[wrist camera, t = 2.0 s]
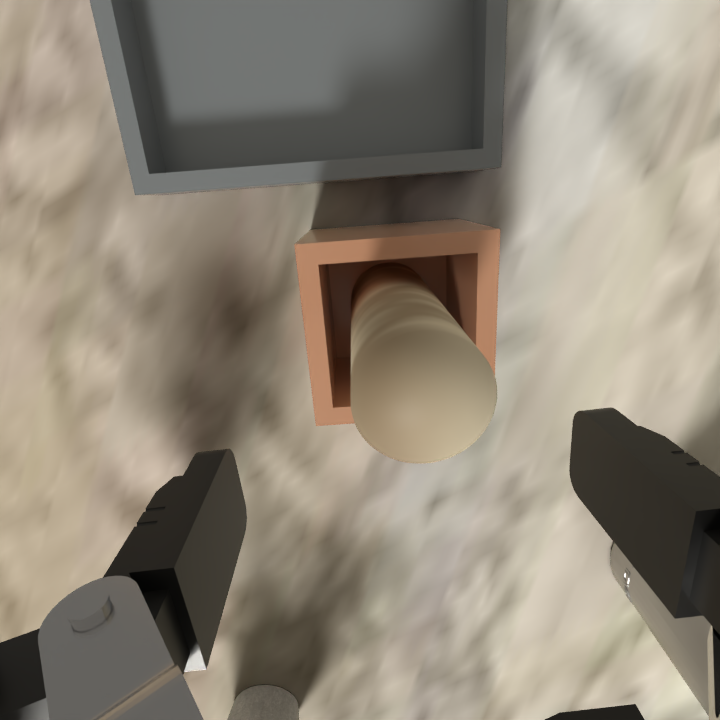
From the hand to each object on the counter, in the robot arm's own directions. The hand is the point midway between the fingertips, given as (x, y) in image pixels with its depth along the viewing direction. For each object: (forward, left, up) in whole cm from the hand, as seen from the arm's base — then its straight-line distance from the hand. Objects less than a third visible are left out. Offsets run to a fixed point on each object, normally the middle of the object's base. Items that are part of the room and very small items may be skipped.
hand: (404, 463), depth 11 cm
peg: (-1, -1, -14) cm, 14 cm away
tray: (+2, -13, -15) cm, 20 cm away
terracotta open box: (-1, -1, -15) cm, 15 cm away
